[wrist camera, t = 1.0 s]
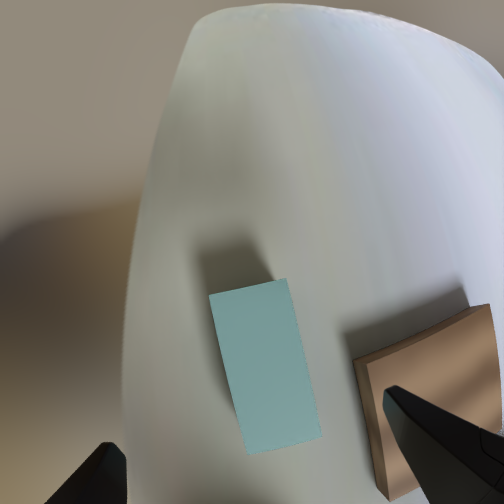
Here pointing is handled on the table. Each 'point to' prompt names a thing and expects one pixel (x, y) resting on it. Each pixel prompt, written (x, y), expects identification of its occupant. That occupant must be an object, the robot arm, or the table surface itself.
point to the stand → (432, 385)
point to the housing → (265, 366)
